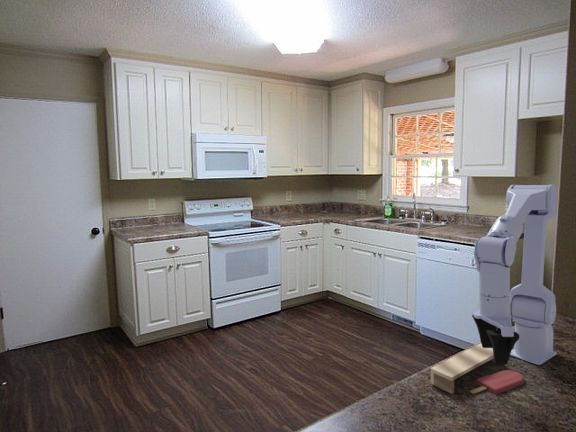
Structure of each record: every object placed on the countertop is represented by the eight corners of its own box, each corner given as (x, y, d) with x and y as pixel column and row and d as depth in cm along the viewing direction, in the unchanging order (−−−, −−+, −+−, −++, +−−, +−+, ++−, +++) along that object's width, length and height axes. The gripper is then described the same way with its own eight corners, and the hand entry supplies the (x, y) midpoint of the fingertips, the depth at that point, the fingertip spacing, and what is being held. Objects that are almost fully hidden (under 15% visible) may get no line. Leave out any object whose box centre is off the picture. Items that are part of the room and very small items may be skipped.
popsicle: (461, 383, 92) (508, 367, 98) (461, 389, 92) (508, 373, 98) (481, 395, 87) (529, 377, 93) (481, 402, 87) (529, 384, 93)
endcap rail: (481, 356, 106) (481, 342, 106) (503, 364, 102) (503, 349, 101) (430, 383, 95) (430, 368, 94) (451, 393, 90) (451, 377, 90)
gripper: (463, 284, 93) (464, 340, 95) (486, 305, 79) (486, 372, 81) (496, 283, 93) (496, 340, 94) (525, 305, 78) (524, 372, 80)
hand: (494, 355), depth 87 cm, fingers open, 7 cm apart
